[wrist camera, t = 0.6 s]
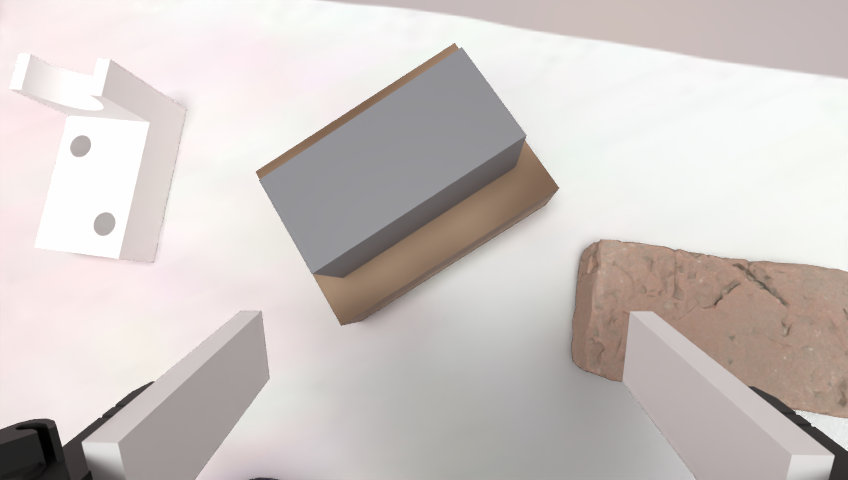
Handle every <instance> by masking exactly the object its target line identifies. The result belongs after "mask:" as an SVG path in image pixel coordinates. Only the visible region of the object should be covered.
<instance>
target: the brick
mask: <svg viewBox="0 0 848 480" xmlns="http://www.w3.org/2000/svg"><path fill="white" fill-rule="evenodd" d="M630 311H653V312H654V313H655V314H657V315H658V316H659V317H660V318H662V319H663V320H664V321H665V322H667V323H668V324H669V325H670V326H672V327H673V328H674V329H675V330H677V331H678V332H679V333H681V334H682V335H683V336H684V337H686V338H687V339H688V340H689V341H691V342H692V343H693V344H694V345H696V346H697V347H698V348H699V349H701V350H702V351H703V352H705V353H706V354H707V355H708V356H710V357H711V358H712V359H713V360H715V361H716V362H717V363H718V364H720V365H721V366H722V367H723V368H725V369H726V370H727V371H729V372H730V373H731V374H732V375H734V376H735V377H736V378H737V379H739V380H740V381H741V382H742V383H744V384H745V385H746V386H754V387H756V388H758V389H760V390H762V391H764V392H766V393H768V394H770V395H772V396H774V397H776V398H778V399H779V400H780V401H782V402H783V403H784V404H786V405H787V406H788V407H789V408H791V409H793V410H803V411H808V412H813V413H819V414H823V415H829V416H834V417H839V418H848V272H846V271H842V270H839V269H828V268H824V267H819V266H813V265H805V264H790V263H774V262H768V261H758V262H748V261H747V260H746V259H729V258H720V257H716V256H712V255H705V254H700V253H692V252H687V251H684V250H681V249H678V250H673V249H671V248H668V247H664V246H654V245H648V244H642V243H634V242H621V241H617V240H600V241H599V242H598V243H593V244H591V245H590V246H589V247H588V248H586V249H585V250H584V252H583V255H582V257H581V260H580V265H579V272H578V283H577V290H576V310H575V312H574V317H573V341H572V356H573V361H574V362H575V364H576V365H577V366H578V367H579V368H582V369H583V370H584V371H587V372H591V373H594V374H596V375H599V376H602V377H604V378H607V379H609V380H613V381H619V382H622V380H623V371H624V362H625V353H626V344H627V335H628V326H629V316H630Z"/></svg>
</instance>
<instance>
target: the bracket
mask: <svg viewBox="0 0 848 480" xmlns="http://www.w3.org/2000/svg"><path fill="white" fill-rule="evenodd" d="M9 89H10V90H13V91H15V92H17V93H19V94H22V95H24V96H26V97H28V98H30V99H33V100H35V101H37V102H39V103H42V104H44V105H46V106H48V107H50V108H53V109H55V110H57V111H59V112H62V113H64V114H66V115H68V116H67V120H66V124H65V128H64V132H63V136H62V140H61V144H60V148H59V152H58V156H57V160H56V164H55V168H54V172H53V176H52V179H51V183H50V187H49V191H48V195H47V199H46V203H45V207H44V211H43V215H42V219H41V223H40V227H39V231H38V235H37V239H36V242H35V246H34V247H36V248H44V249H51V250H58V251H66V252H73V253H80V254H88V255H95V256H102V257H110V258H117V259H126V260H136V261H145V262H154V260H155V255H156V250H157V246H158V241H159V236H160V232H161V227H162V222H163V218H164V213H165V209H166V204H167V199H168V195H169V190H170V185H171V181H172V176H173V171H174V167H175V162H176V157H177V153H178V148H179V144H180V139H181V134H182V130H183V125H184V120H185V116H186V111H187V109H185V108H184V107H182V106H181V105H179V104H178V103H176V102H174V101H173V100H171V99H170V98H168V97H167V96H165V95H164V94H162V93H161V92H159V91H158V90H156V89H155V88H153V87H152V86H150V85H149V84H147V83H146V82H144V81H143V80H141V79H140V78H138V77H137V76H135V75H133V74H132V73H130V72H129V71H127V70H126V69H124V68H123V67H121V66H120V65H118V64H117V63H115V62H114V61H112V60H111V59H99V58H98V59H97V63H96V67H95V71H94V75H93V76H88V75H84V74H80V73H76V72H73V71H69V70H66V69H63V68H61V67H58V66H55V65H53V64H50V63H48V62H46V61H43V60H41V59H39V58H37V57H35V56H33V55H31V54H21V53H19V55H18V59H17V62H16V66H15V69H14V73H13V77H12V80H11V84H10V88H9Z"/></svg>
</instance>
